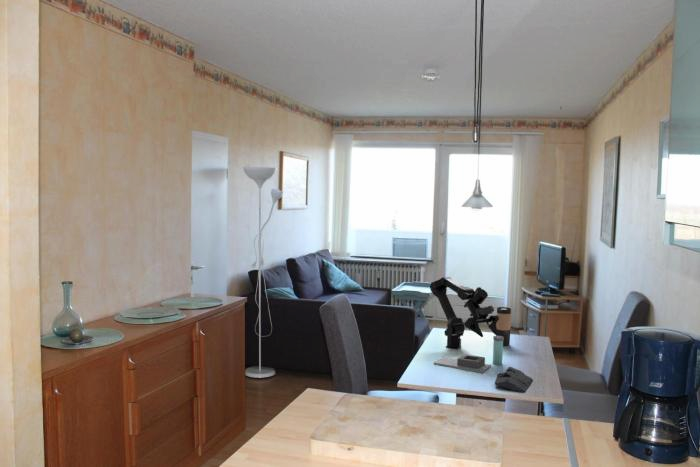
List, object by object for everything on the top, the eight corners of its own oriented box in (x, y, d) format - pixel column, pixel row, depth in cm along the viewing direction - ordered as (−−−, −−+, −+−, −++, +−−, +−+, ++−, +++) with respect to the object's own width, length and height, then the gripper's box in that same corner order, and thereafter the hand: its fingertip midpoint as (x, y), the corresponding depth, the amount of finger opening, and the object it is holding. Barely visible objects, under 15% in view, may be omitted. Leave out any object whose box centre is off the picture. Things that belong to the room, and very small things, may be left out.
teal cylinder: (491, 363, 280) (492, 337, 279) (494, 361, 284) (495, 335, 283) (500, 365, 277) (501, 338, 276) (503, 363, 281) (504, 336, 281)
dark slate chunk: (488, 388, 244) (488, 377, 244) (499, 374, 264) (499, 364, 264) (526, 394, 238) (526, 383, 237) (534, 379, 257) (534, 369, 257)
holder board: (433, 364, 277) (434, 355, 277) (443, 358, 287) (443, 350, 287) (482, 372, 265) (483, 364, 265) (490, 366, 275) (491, 358, 275)
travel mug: (508, 343, 322) (510, 307, 321) (511, 346, 314) (512, 309, 313) (494, 342, 323) (495, 306, 321) (496, 345, 315) (498, 309, 314)
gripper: (468, 301, 284) (483, 328, 275) (497, 299, 293) (512, 325, 284) (458, 314, 292) (471, 341, 283) (486, 311, 301) (500, 337, 292)
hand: (489, 335), depth 285 cm, fingers open, 9 cm apart
